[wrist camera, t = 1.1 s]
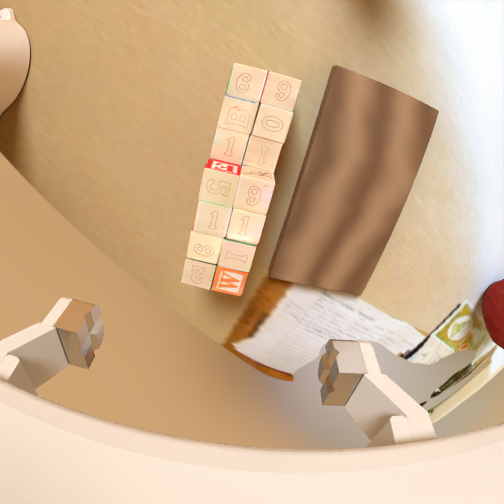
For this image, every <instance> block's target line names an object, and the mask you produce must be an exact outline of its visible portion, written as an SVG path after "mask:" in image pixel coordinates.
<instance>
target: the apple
mask: <svg viewBox="0 0 504 504" xmlns="http://www.w3.org/2000/svg"><path fill="white" fill-rule="evenodd" d="M481 308H482V313H483V317H484V321H485V325H486V328H487V330H488V332H489V334H490V337H491V339H492V341H494V342H495V343H496V344H497V345H498V346H500V347H501V348H503V349H504V279H503V280H501V281H498V282H494V283H493V284H491V285H490V286H489V287H488V289H487V290H486V292H485V295H484V299H483V303H482V307H481Z"/></svg>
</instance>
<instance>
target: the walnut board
mask: <svg viewBox="0 0 504 504" xmlns="http://www.w3.org/2000/svg"><path fill="white" fill-rule="evenodd" d="M438 113H439V111H438V110H436V109H434V108H432V107H430V106H429V105H427V104H425V103H423V102H421V101H419V100H417V99H415V98H413V97H411V96H409V95H407V94H404V93H402V92H400V91H398V90H396V89H394V88H391V87H389V86H387V85H385V84H382V83H380V82H378V81H375V80H373V79H370V78H368V77H366V76H363V75H361V74H358V73H355V72H353V71H350V70H347V69H345V68H342V67H339V66H332V69H331V73H330V76H329V79H328V83H327V86H326V90H325V93H324V96H323V100H322V103H321V106H320V109H319V113H318V116H317V119H316V123H315V126H314V129H313V132H312V136H311V139H310V142H309V145H308V149H307V152H306V155H305V158H304V161H303V164H302V168H301V171H300V174H299V177H298V180H297V183H296V187H295V190H294V193H293V196H292V199H291V202H290V205H289V209H288V212H287V215H286V218H285V221H284V224H283V227H282V230H281V233H280V236H279V239H278V242H277V245H276V248H275V251H274V254H273V258H272V261H271V264H270V267H269V277H271V278H276V279H280V280H285V281H290V282H295V283H300V284H305V285H310V286H315V287H320V288H325V289H330V290H335V291H340V292H346V293H351V294H356V295H362V293H363V291H364V289H365V287H366V285H367V283H368V281H369V279H370V277H371V275H372V273H373V271H374V269H375V267H376V265H377V263H378V261H379V259H380V257H381V255H382V253H383V251H384V249H385V247H386V244H387V242H388V240H389V238H390V236H391V234H392V231H393V229H394V227H395V225H396V223H397V220H398V218H399V216H400V213H401V211H402V209H403V206H404V204H405V202H406V199H407V197H408V195H409V192H410V190H411V187H412V185H413V182H414V180H415V177H416V175H417V172H418V169H419V167H420V164H421V162H422V159H423V156H424V153H425V151H426V148H427V145H428V142H429V140H430V137H431V134H432V131H433V128H434V125H435V122H436V119H437V116H438Z"/></svg>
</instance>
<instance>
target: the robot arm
mask: <svg viewBox="0 0 504 504" xmlns="http://www.w3.org/2000/svg"><path fill="white" fill-rule="evenodd" d="M29 60H30V46H29V40H28V37H27V34H26V32H25V30H24V29H23V28H22V27H21V26H20V25H19V24H18V23H17V22H16V20H15V16H14V12H13V10H12V9H11V8H5V9H3V10H1V11H0V116H1V114H2V113H3V111H4V110H5V109H6V108H7V107H8V106H10V105H11V104H12V102H13V101H14V100H15V99H16V97H17V96H18V94H19V92H20V90H21V88H22V86H23V84H24V81H25V79H26V75H27V72H28V67H29ZM100 315H101V312H100V308H99V306H97V305H94V304H90V303H86V302H82V301H79V300H75V299H74V300H73V299H70V298H66V297H62V298H60V299H59V301H58V302H57V303H56V305H55V306H54V307H53V308H52V310H51V311H50V312H49V314H48V315H47V316H46V318H45V319H44V321H43V322H42V323H36V324H34V325H32V326H30V327H28V328H26V329H24V330H22V331H20V332H17V333H15V334H13V335H11V336H9V337H7V338H5V339H3V340H1V341H0V504H504V423H502V424H498V425H495V426H491V427H487V428H484V429H480V430H476V431H472V432H467V433H463V434H458V435H454V436H449V437H443V438H438V439H437V438H436V435H435V433H434V429H433V426H432V423H431V420H430V418H429V415H428V412H427V411H426V410H425V409H423V408H422V407H421V406H420V405H419V404H418V403H417V402H415V401H414V400H413V399H412V398H411V397H410V396H409V395H408V394H407V393H405V392H404V391H403V390H402V389H401V388H400V387H399V386H398V385H396V384H395V383H394V382H393V381H392V380H391V379H390V378H389V377H387V376H386V375H384V374H381V371H380V368H379V365H378V362H377V359H376V356H375V353H374V350H373V347H372V344H371V342H370V341H352V340H335V339H330V340H329V341H328V342H327V345H326V352H327V353H325V354H324V355H322V357H321V360H320V363H319V368H318V376H319V381H320V382H321V383H322V384H323V386H322V388H321V398H322V405H333V406H345V408H346V409H347V411H348V412H349V413H350V414H351V416H352V417H353V418H354V420H355V421H356V422H357V424H358V425H359V426H360V427H361V429H362V430H363V431H364V432H365V434H366V435H367V436H368V438H369V439H370V440H371V442H370V443H369V444H368V445H367V446H366V447H365V448H348V449H281V448H263V447H250V446H240V445H229V444H221V443H213V442H207V441H199V440H193V439H187V438H182V437H177V436H171V435H166V434H161V433H157V432H152V431H147V430H143V429H139V428H135V427H130V426H127V425H123V424H119V423H116V422H112V421H108V420H105V419H102V418H98V417H95V416H92V415H89V414H86V413H83V412H80V411H76V410H74V409H71V408H68V407H65V406H62V405H60V404H57V403H54V402H52V401H49V400H47V399H44V398H42V397H39V396H38V394H37V392H36V391H35V389H37V388H38V387H39V386H41V385H42V384H43V383H45V382H46V381H48V380H49V379H50V378H51V377H53V376H54V375H56V374H57V373H59V372H60V371H61V370H63V369H64V368H65V367H67V366H68V365H69V364H71V365H75V366H78V367H82V368H86V369H89V367H90V365H91V363H92V361H93V359H94V357H95V355H94V350H96V349H98V348H99V347H100V345H101V343H102V340H103V336H104V327H103V323H102V322H101V321H100V319H99V316H100Z"/></svg>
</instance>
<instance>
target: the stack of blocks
mask: <svg viewBox="0 0 504 504" xmlns="http://www.w3.org/2000/svg"><path fill="white" fill-rule="evenodd" d="M301 84H302V81H301V80H298V79H295V78H292V77H288V76H285V75H281V74H278V73H274V72H271V71H266V70H262V69H258V68H254V67H250V66H246V65H241V64H237V63H234V65H233V68H232V72H231V76H230V80H229V83H228V87H227V91H226V95H225V97H224V100H223V104H222V108H221V112H220V116H219V120H218V124H217V128H216V131H215V136H214V140H213V145H212V149H211V154H210V159H209V160H208V162H207V164H206V166H205V168H204V173H203V178H202V182H201V187H200V193H199V197H198V199H199V202H198V207H197V212H196V217H195V222H194V225H193V228H192V230H191V235H190V240H189V246H188V250H187V256H186V259H185V264H184V269H183V275H182V280H181V282H182V283H184V284H188V285H192V286H196V287H201V288H204V289H208V290H209V289H212V290H214V291H218V292H223V293H227V294H232V295H237V296H241V295H242V292H243V289H244V285H245V282H246V279H247V276H248V272H249V271H250V268H251V265H252V261H253V258H254V254H255V250H256V245H257V244H258V243H259V240H260V237H261V233H262V230H263V226H264V223H265V220H266V214H267V211H268V208H269V205H270V201H271V198H272V194H273V191H274V187H275V178H274V171H275V168H276V165H277V162H278V158H279V155H280V152H281V149H282V146H283V144H284V143H285V140H286V137H287V134H288V131H289V127H290V124H291V121H292V117H293V114H294V112H293V109H294V106H295V103H296V100H297V97H298V94H299V90H300V87H301Z"/></svg>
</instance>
